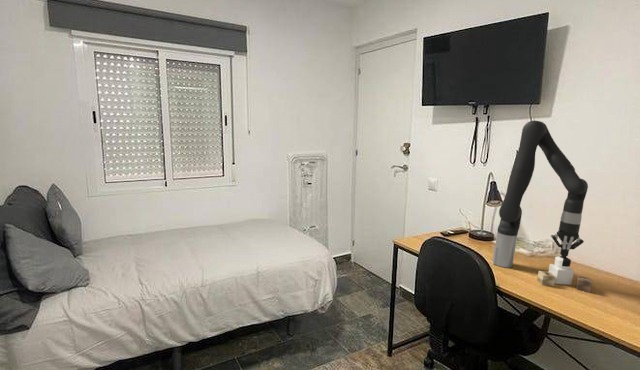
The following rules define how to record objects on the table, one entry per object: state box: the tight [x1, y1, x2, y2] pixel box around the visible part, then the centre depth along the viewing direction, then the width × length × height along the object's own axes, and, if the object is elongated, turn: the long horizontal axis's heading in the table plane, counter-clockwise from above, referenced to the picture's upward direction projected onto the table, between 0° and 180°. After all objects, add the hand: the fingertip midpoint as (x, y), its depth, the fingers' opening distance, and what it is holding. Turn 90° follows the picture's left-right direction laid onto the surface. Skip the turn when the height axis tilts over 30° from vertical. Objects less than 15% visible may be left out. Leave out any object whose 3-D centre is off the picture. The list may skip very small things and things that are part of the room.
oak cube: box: [536, 270, 555, 287], centre depth 158 cm, size 5×5×5 cm
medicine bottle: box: [547, 255, 574, 286], centre depth 160 cm, size 7×7×12 cm
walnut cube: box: [575, 275, 593, 294], centre depth 153 cm, size 5×5×5 cm
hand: (563, 256), depth 159 cm, fingers closed
